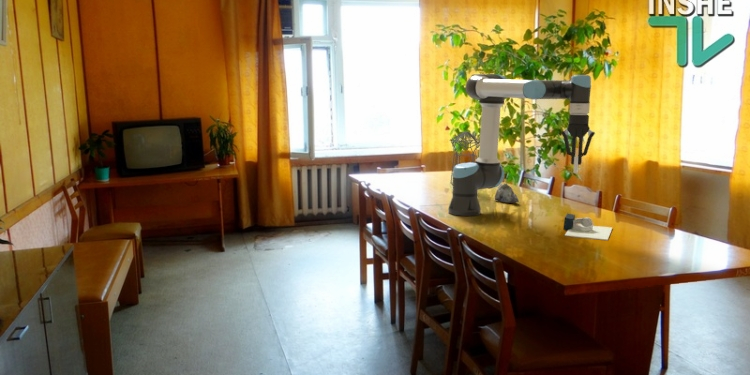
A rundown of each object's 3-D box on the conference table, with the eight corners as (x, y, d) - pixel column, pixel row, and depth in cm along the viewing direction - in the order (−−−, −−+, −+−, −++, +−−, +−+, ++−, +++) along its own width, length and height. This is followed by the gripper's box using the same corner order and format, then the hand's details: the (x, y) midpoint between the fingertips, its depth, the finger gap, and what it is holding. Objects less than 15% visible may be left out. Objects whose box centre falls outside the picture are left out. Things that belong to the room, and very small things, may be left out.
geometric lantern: (446, 190, 337) (449, 130, 332) (473, 190, 339) (475, 130, 334) (453, 195, 322) (456, 131, 317) (480, 195, 324) (484, 132, 318)
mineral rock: (519, 205, 294) (520, 185, 292) (498, 205, 294) (499, 185, 292) (513, 200, 307) (514, 181, 305) (493, 200, 307) (494, 181, 305)
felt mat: (564, 235, 231) (564, 234, 231) (572, 224, 251) (572, 223, 250) (607, 240, 224) (607, 239, 224) (612, 228, 243) (612, 227, 243)
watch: (567, 223, 247) (594, 229, 242) (562, 231, 241) (589, 237, 235) (568, 211, 245) (595, 217, 239) (563, 219, 238) (591, 225, 233)
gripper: (560, 114, 232) (557, 172, 236) (595, 114, 226) (591, 174, 230) (563, 113, 239) (560, 170, 242) (597, 114, 233) (593, 172, 237)
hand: (575, 172), depth 236 cm, fingers closed
